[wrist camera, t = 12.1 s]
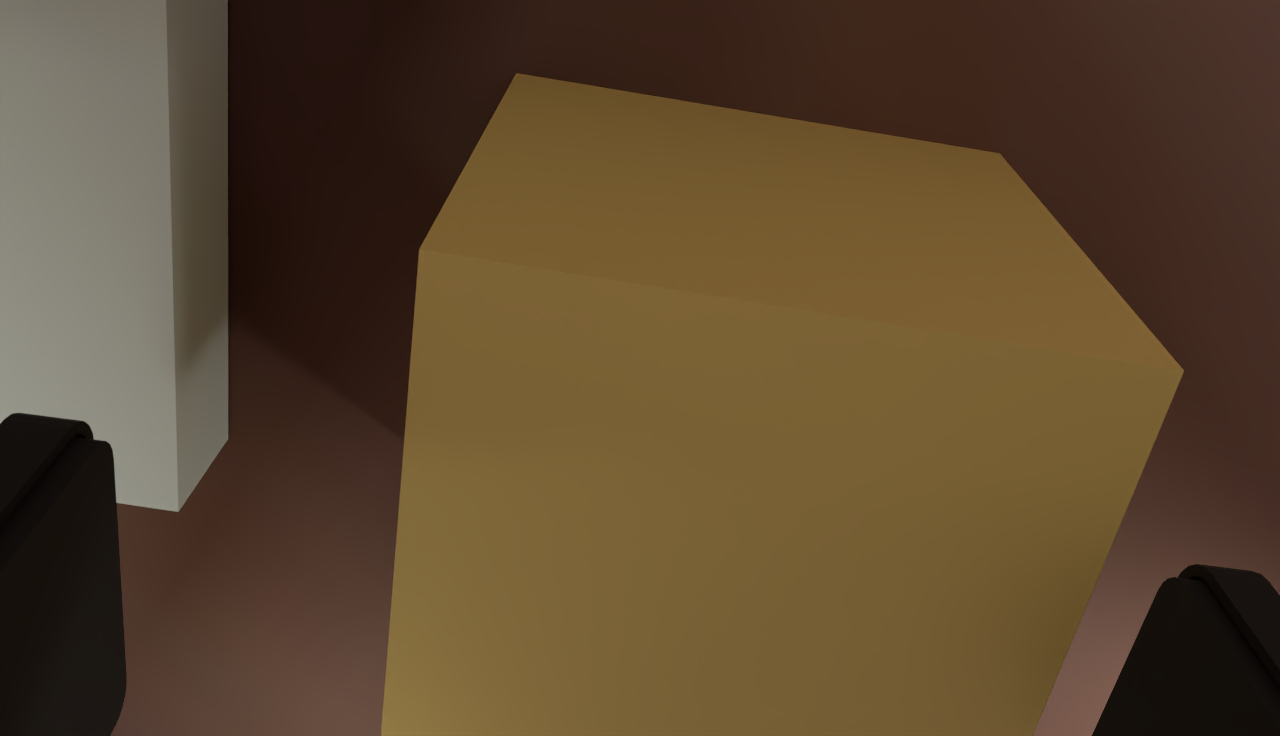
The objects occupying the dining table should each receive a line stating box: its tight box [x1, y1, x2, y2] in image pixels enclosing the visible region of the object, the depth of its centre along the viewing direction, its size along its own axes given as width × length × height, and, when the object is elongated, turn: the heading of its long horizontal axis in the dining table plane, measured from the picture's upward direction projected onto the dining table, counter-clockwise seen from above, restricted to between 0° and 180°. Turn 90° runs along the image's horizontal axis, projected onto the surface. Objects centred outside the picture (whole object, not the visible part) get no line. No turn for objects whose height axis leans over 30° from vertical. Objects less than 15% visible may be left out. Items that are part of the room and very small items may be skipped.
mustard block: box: [381, 73, 1184, 736], centre depth 14 cm, size 6×6×6 cm
